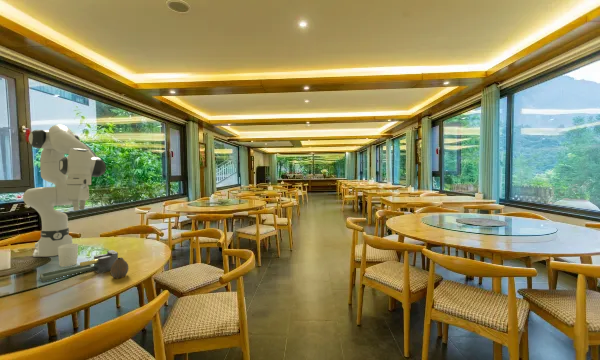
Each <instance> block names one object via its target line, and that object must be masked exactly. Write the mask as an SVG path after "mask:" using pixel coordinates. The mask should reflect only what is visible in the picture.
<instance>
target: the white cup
mask: <svg viewBox="0 0 600 360" xmlns="http://www.w3.org/2000/svg"><path fill="white" fill-rule="evenodd" d="M78 253H79V243H72V244H65V245H61V246H58V255H57V256H58V261H59V267H61V268H63V267H64V268H65V266H67V267H72V266H75V265H76V263H78ZM74 264H75V265H74ZM71 265H72V266H71Z"/></svg>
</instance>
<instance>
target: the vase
mask: <svg viewBox="0 0 600 360" xmlns="http://www.w3.org/2000/svg"><path fill="white" fill-rule="evenodd" d="M128 272H129V264H128V262H127V261H126V260H125V259H124V258H123V257H118V258H117V259H116V261H115V262H114V263H113V265H112V266H111V271H110V274H111V277H113V278H114V279H121V278H124V277H125V276H126V275H127V274H128Z"/></svg>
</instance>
